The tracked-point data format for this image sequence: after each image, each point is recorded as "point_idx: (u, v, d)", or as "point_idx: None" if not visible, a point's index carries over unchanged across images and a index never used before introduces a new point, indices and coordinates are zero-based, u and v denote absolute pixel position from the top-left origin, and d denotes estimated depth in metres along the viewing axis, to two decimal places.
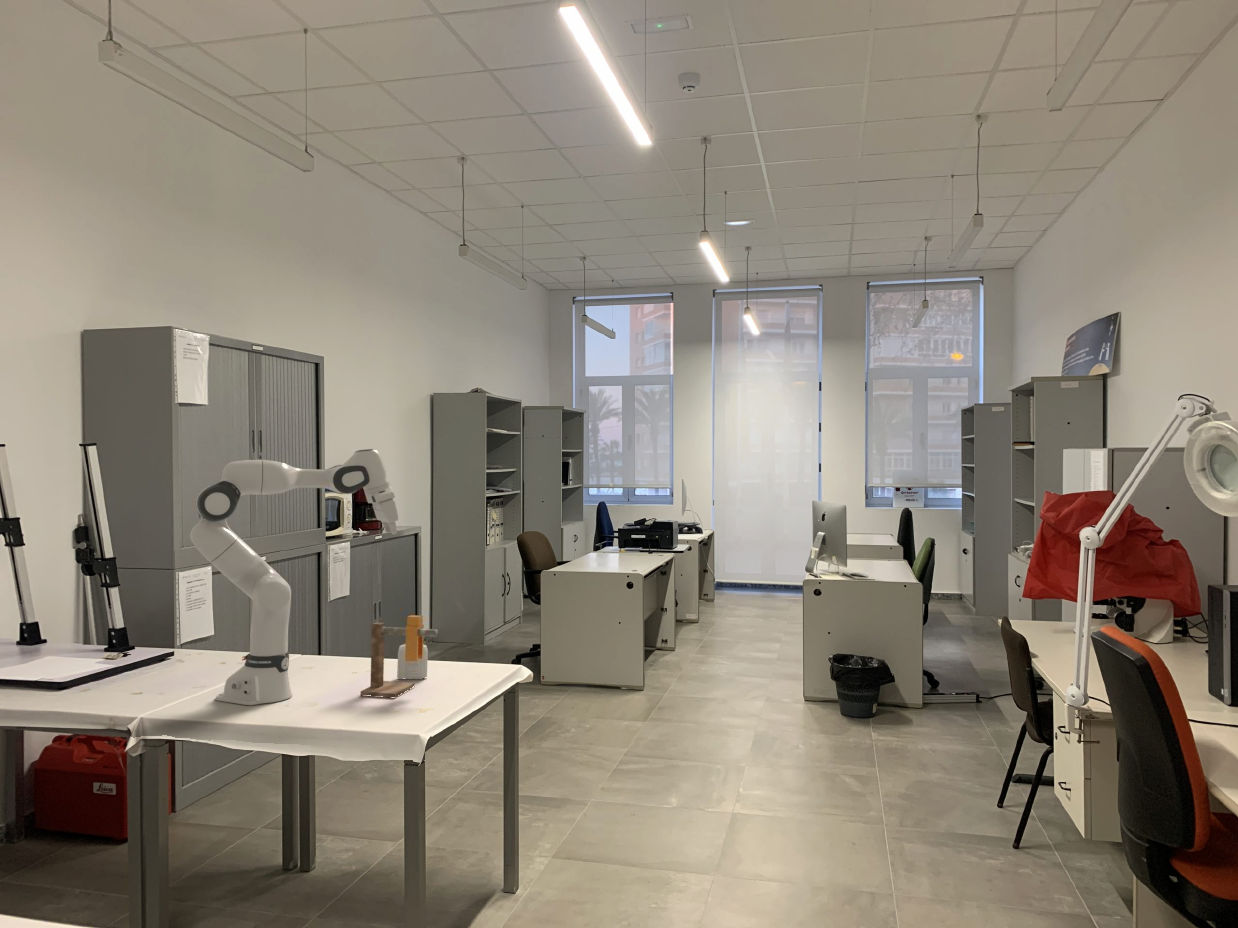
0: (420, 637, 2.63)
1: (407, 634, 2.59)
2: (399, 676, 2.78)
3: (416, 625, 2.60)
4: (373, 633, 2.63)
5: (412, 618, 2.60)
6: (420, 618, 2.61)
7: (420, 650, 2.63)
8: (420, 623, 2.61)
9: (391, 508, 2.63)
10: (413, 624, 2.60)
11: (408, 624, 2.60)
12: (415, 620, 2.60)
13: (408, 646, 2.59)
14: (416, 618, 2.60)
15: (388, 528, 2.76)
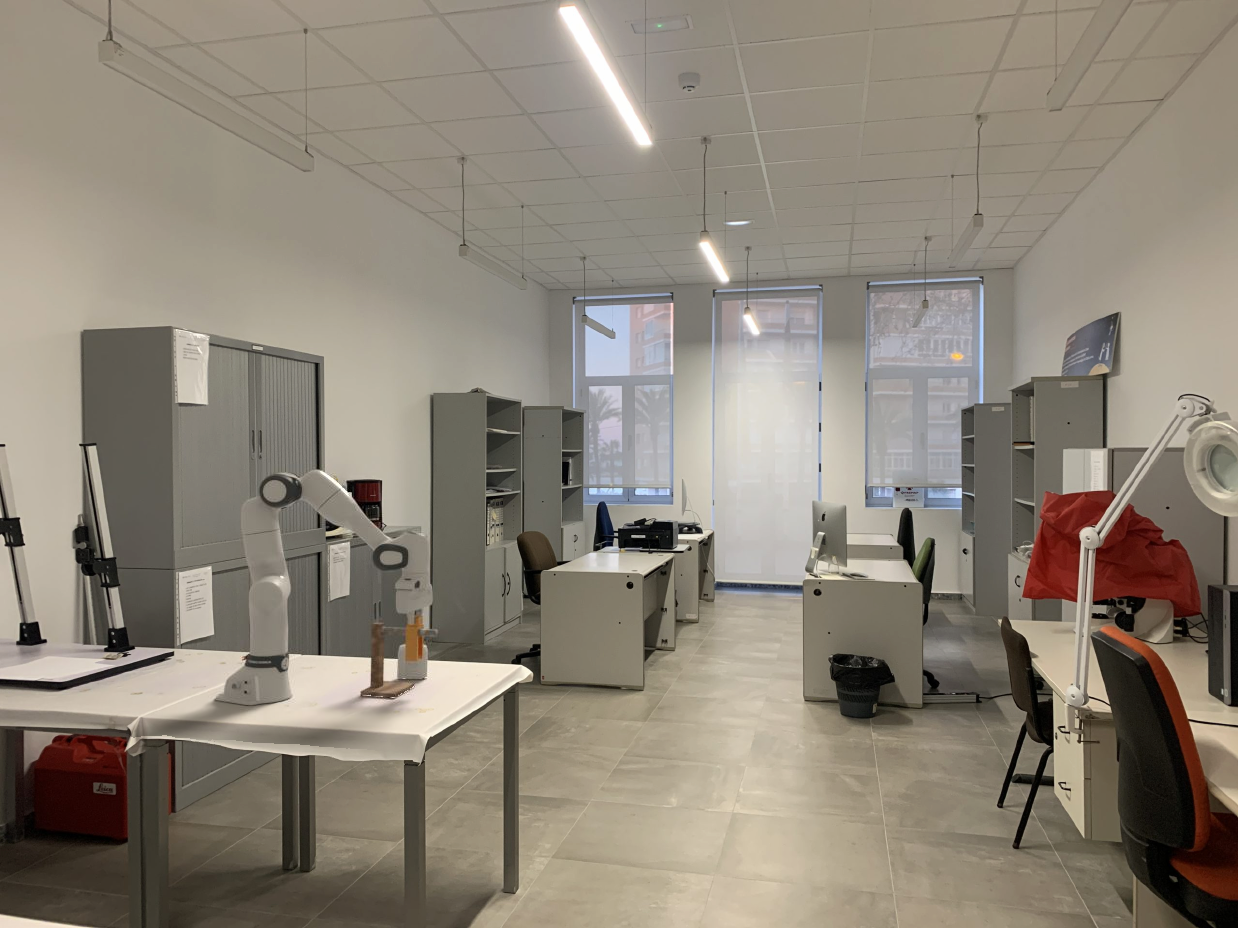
0: (420, 637, 2.63)
1: (407, 634, 2.59)
2: (399, 676, 2.78)
3: (416, 625, 2.60)
4: (373, 633, 2.63)
5: None
6: (420, 618, 2.61)
7: (420, 650, 2.63)
8: (420, 623, 2.61)
9: (403, 599, 2.52)
10: (413, 624, 2.60)
11: (408, 624, 2.60)
12: (415, 620, 2.60)
13: (408, 646, 2.59)
14: (416, 618, 2.60)
15: None
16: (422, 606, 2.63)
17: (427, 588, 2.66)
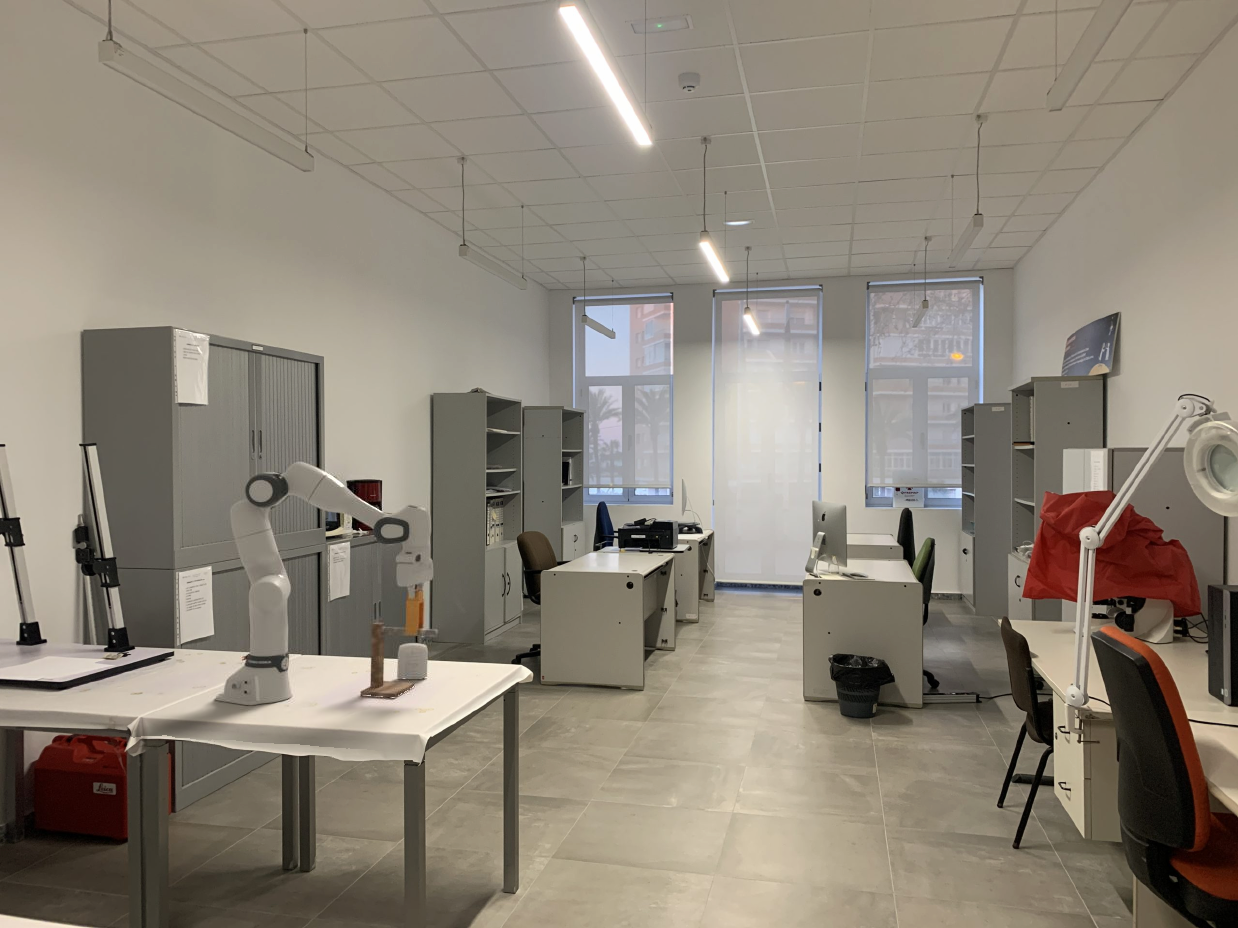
0: (421, 611, 2.63)
1: (408, 608, 2.60)
2: (399, 676, 2.78)
3: (417, 599, 2.60)
4: (373, 633, 2.63)
5: None
6: (421, 592, 2.61)
7: (420, 624, 2.63)
8: (421, 597, 2.62)
9: (404, 572, 2.52)
10: (414, 598, 2.60)
11: (409, 598, 2.61)
12: (416, 594, 2.60)
13: (408, 620, 2.59)
14: (417, 592, 2.60)
15: None
16: (423, 580, 2.63)
17: (428, 563, 2.67)
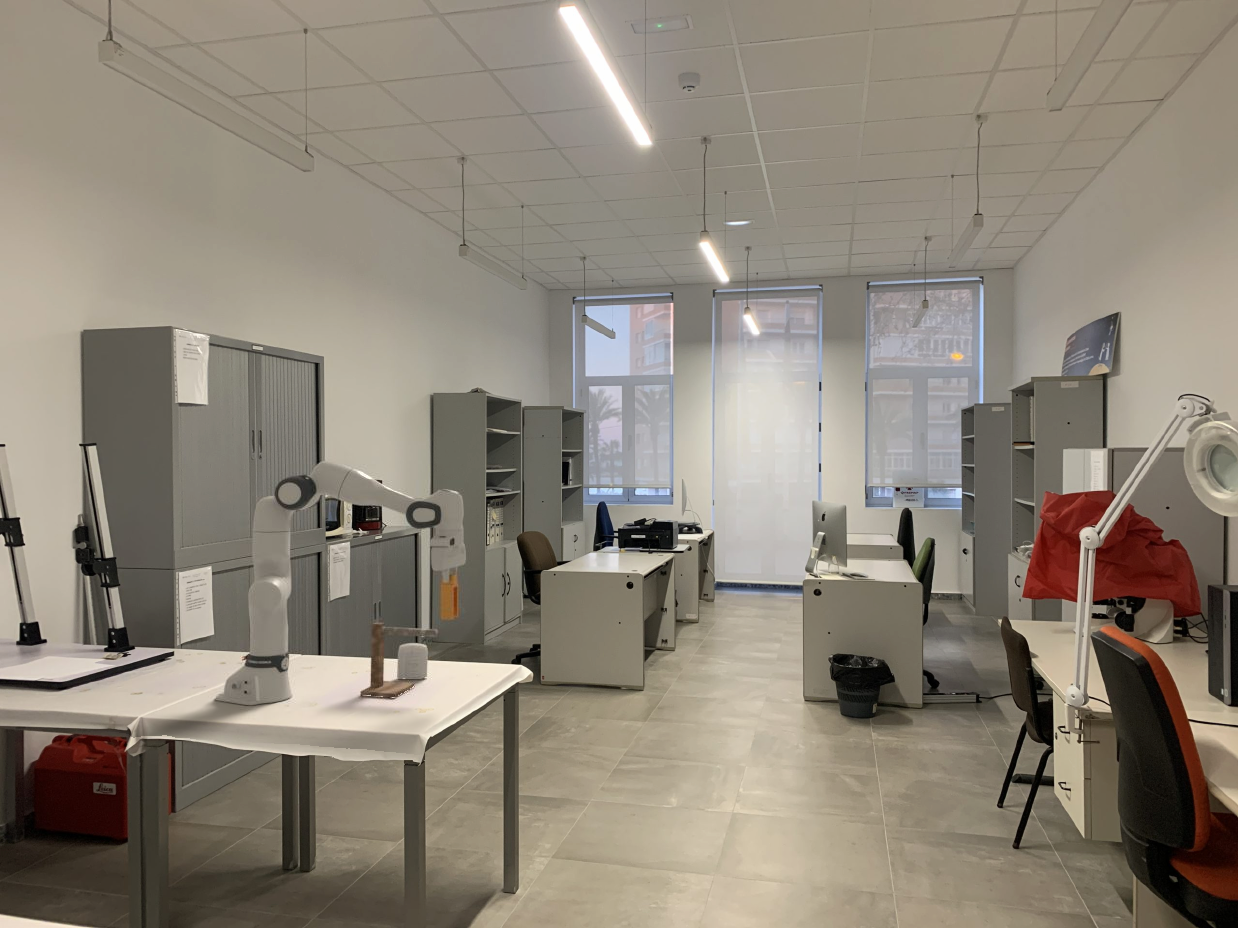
0: (455, 596, 2.61)
1: (442, 592, 2.57)
2: (399, 676, 2.78)
3: (451, 583, 2.58)
4: (373, 633, 2.63)
5: None
6: (455, 576, 2.59)
7: (455, 609, 2.61)
8: (455, 582, 2.59)
9: (439, 556, 2.50)
10: (448, 582, 2.58)
11: (443, 582, 2.58)
12: (450, 578, 2.58)
13: (443, 604, 2.57)
14: (451, 576, 2.58)
15: None
16: (456, 564, 2.61)
17: (461, 547, 2.65)
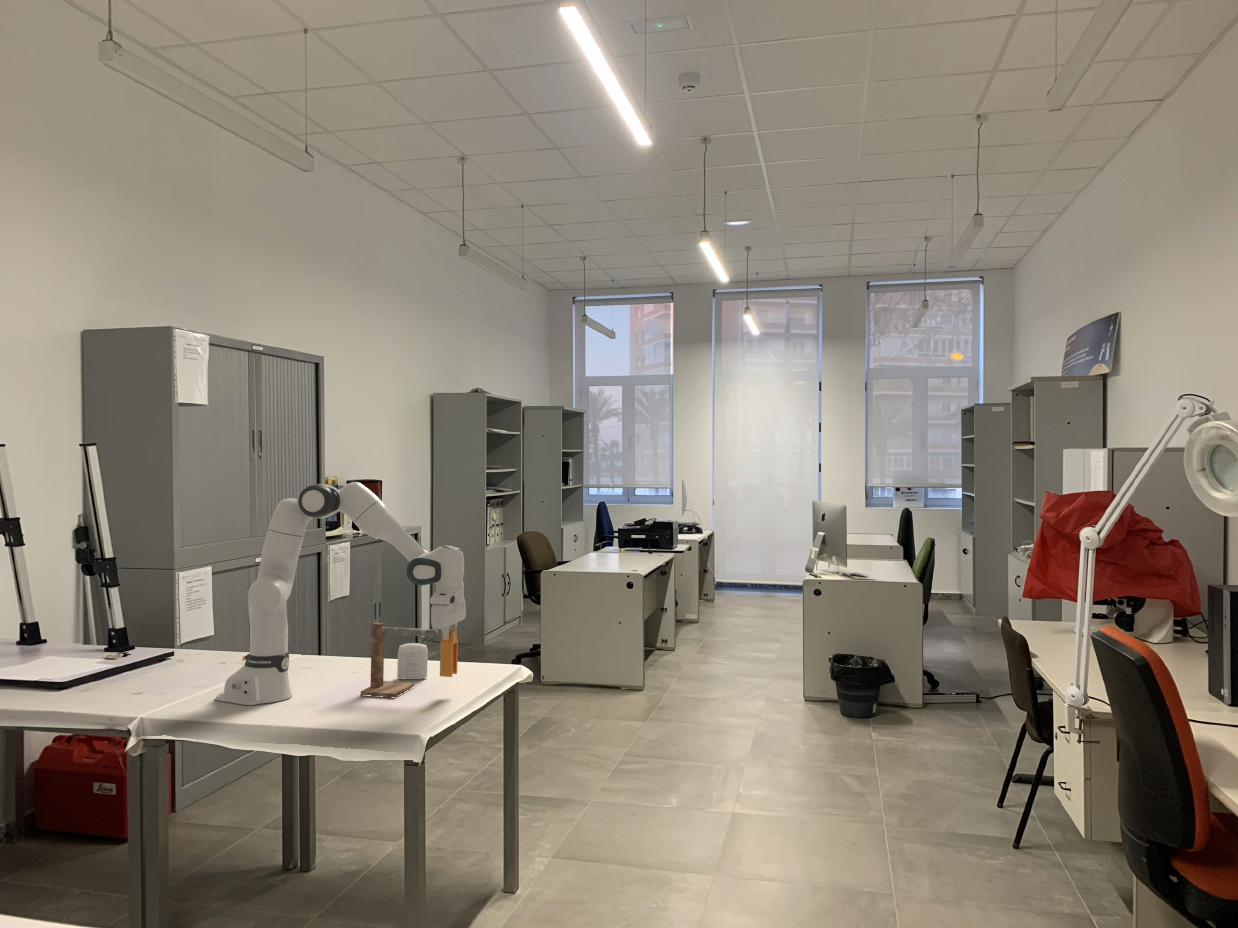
0: (454, 652, 2.60)
1: (442, 649, 2.57)
2: (399, 676, 2.78)
3: (451, 640, 2.57)
4: (373, 633, 2.63)
5: None
6: (454, 633, 2.59)
7: (454, 665, 2.60)
8: (455, 638, 2.59)
9: (439, 614, 2.50)
10: None
11: (442, 639, 2.58)
12: (450, 635, 2.58)
13: (442, 661, 2.57)
14: (451, 633, 2.57)
15: None
16: (456, 621, 2.61)
17: (461, 602, 2.64)
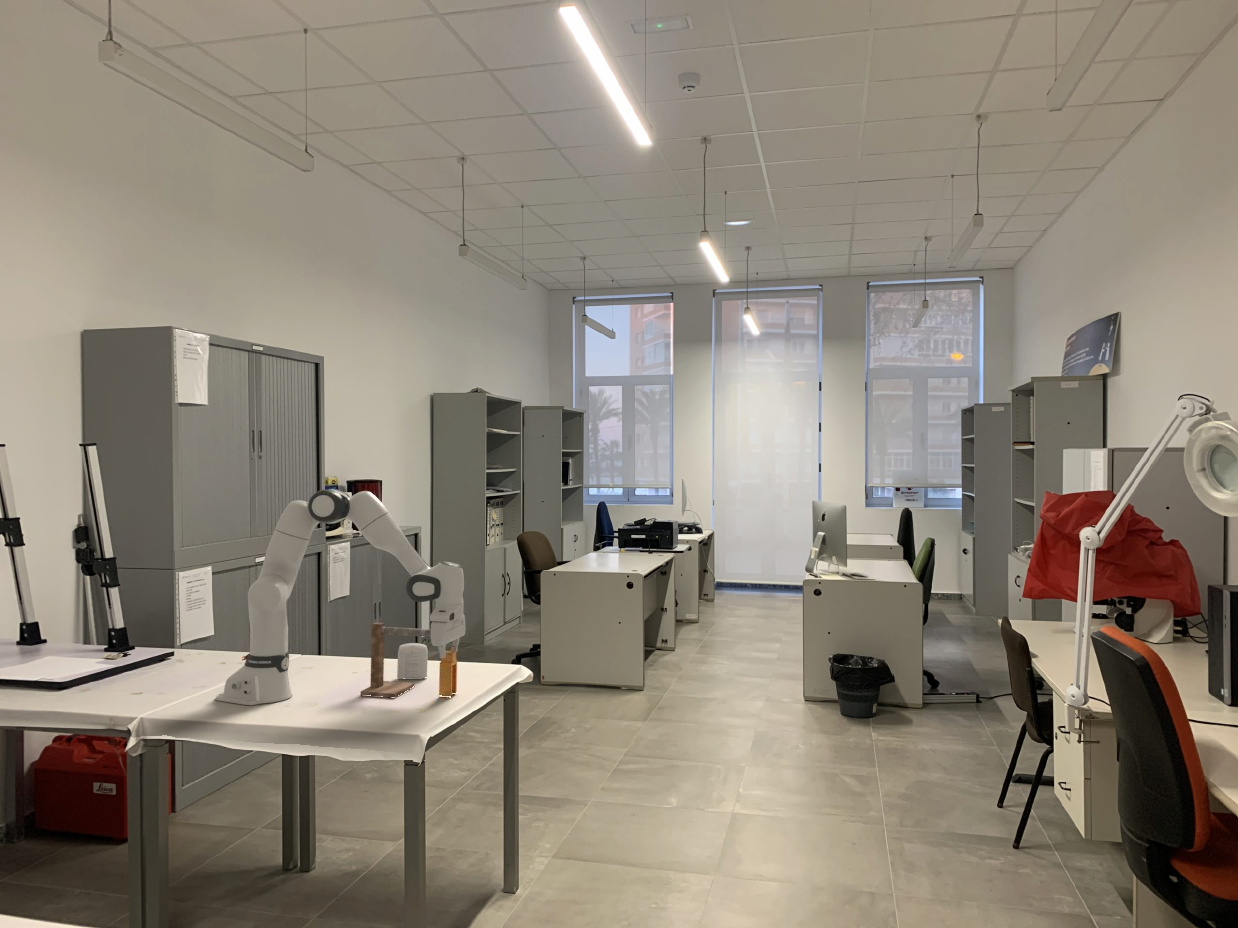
0: (453, 673, 2.60)
1: (441, 670, 2.57)
2: (399, 676, 2.78)
3: (450, 661, 2.57)
4: (373, 633, 2.63)
5: None
6: (454, 654, 2.58)
7: (454, 686, 2.60)
8: (454, 659, 2.59)
9: (438, 632, 2.50)
10: (447, 660, 2.57)
11: (442, 660, 2.58)
12: (449, 656, 2.57)
13: (442, 682, 2.57)
14: (450, 654, 2.57)
15: (453, 648, 2.63)
16: (456, 637, 2.60)
17: (460, 619, 2.64)
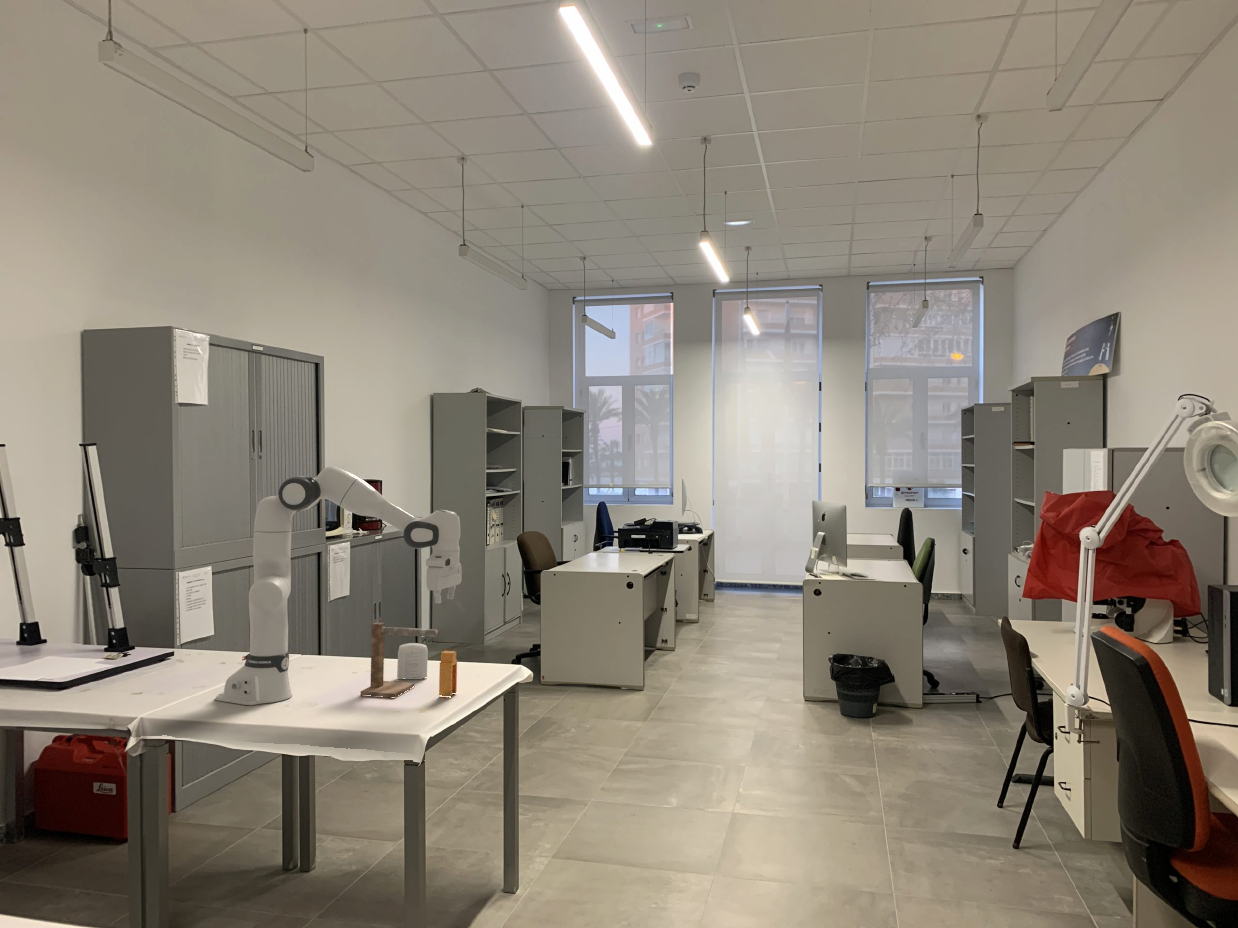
0: (453, 673, 2.60)
1: (441, 670, 2.57)
2: (399, 676, 2.78)
3: (450, 661, 2.57)
4: (373, 633, 2.63)
5: (446, 654, 2.58)
6: (454, 654, 2.58)
7: (454, 686, 2.60)
8: (454, 659, 2.59)
9: (434, 576, 2.53)
10: (447, 660, 2.57)
11: (442, 660, 2.58)
12: (449, 656, 2.57)
13: (442, 682, 2.57)
14: (450, 654, 2.57)
15: (449, 595, 2.67)
16: (452, 584, 2.64)
17: (457, 567, 2.68)
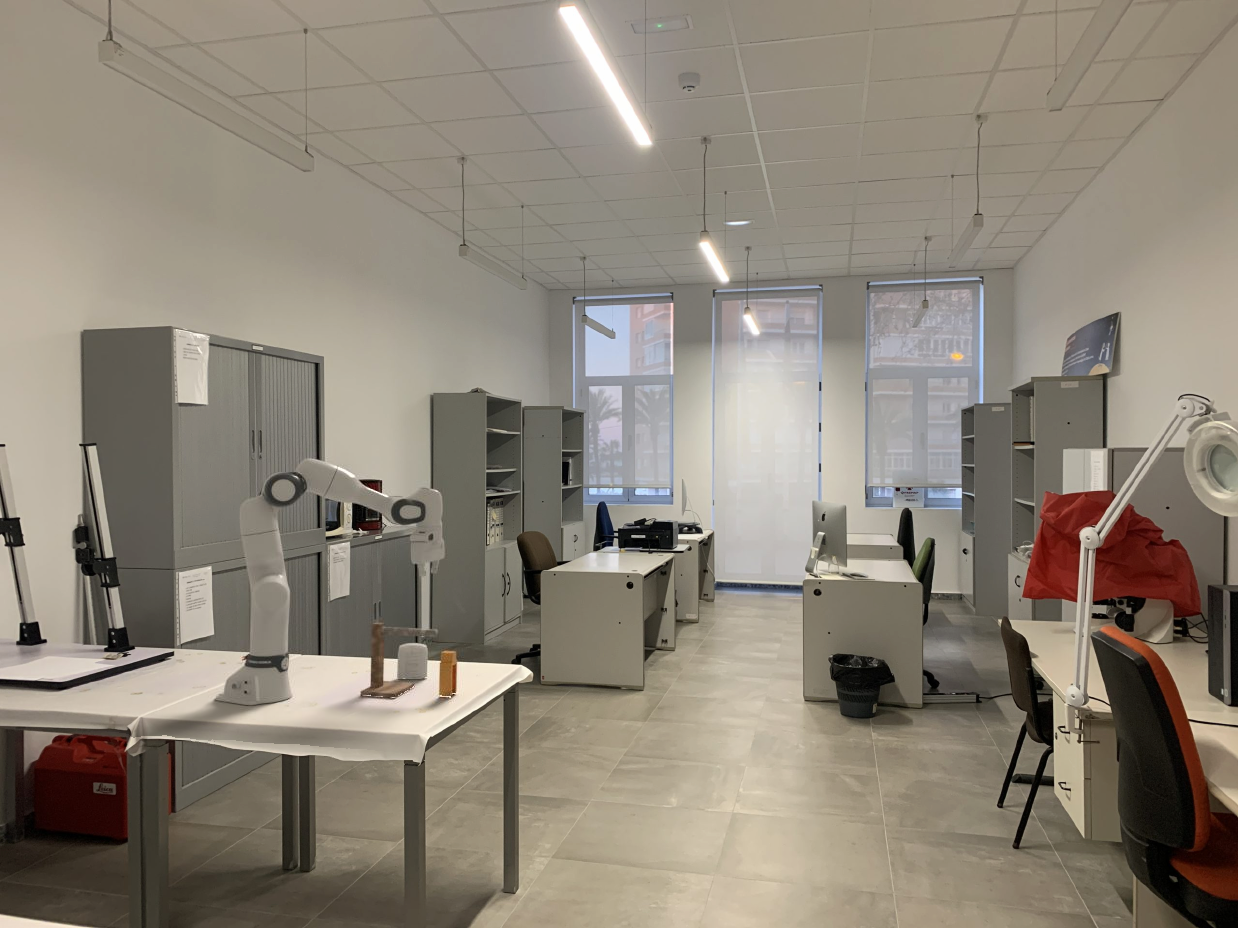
0: (453, 673, 2.60)
1: (441, 670, 2.57)
2: (399, 676, 2.78)
3: (450, 661, 2.57)
4: (373, 633, 2.63)
5: (446, 654, 2.58)
6: (454, 654, 2.58)
7: (454, 686, 2.60)
8: (454, 659, 2.59)
9: (418, 550, 2.66)
10: (447, 660, 2.57)
11: (442, 660, 2.58)
12: (449, 656, 2.57)
13: (442, 682, 2.57)
14: (450, 654, 2.57)
15: (433, 569, 2.80)
16: (435, 559, 2.77)
17: (439, 542, 2.81)
